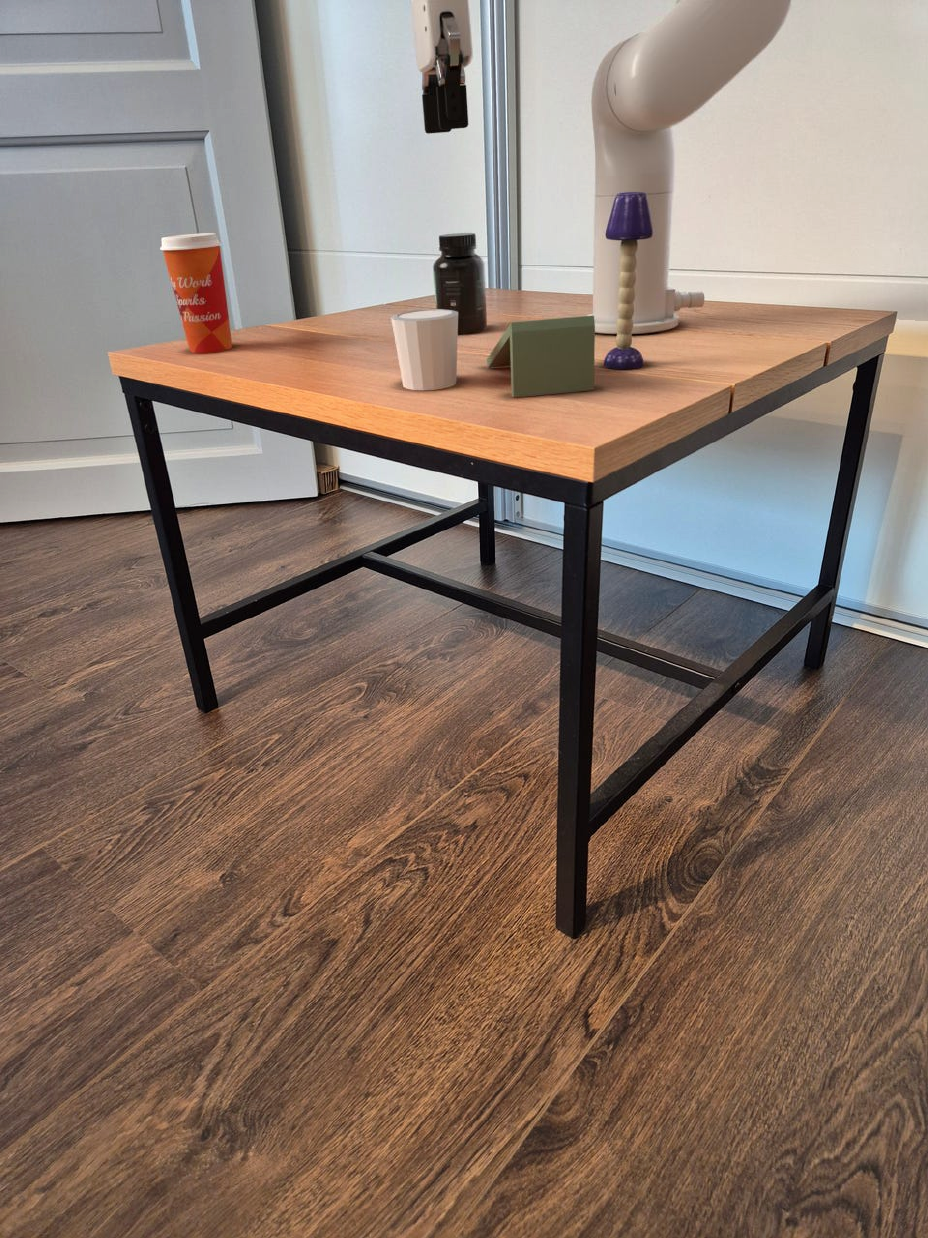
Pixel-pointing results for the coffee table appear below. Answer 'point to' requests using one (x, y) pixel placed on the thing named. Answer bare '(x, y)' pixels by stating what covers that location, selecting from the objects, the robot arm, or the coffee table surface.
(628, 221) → the toy lamp
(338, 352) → the coffee table surface
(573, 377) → the green tent sign
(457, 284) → the supplement bottle
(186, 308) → the paper cup
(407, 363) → the white faceted cup
